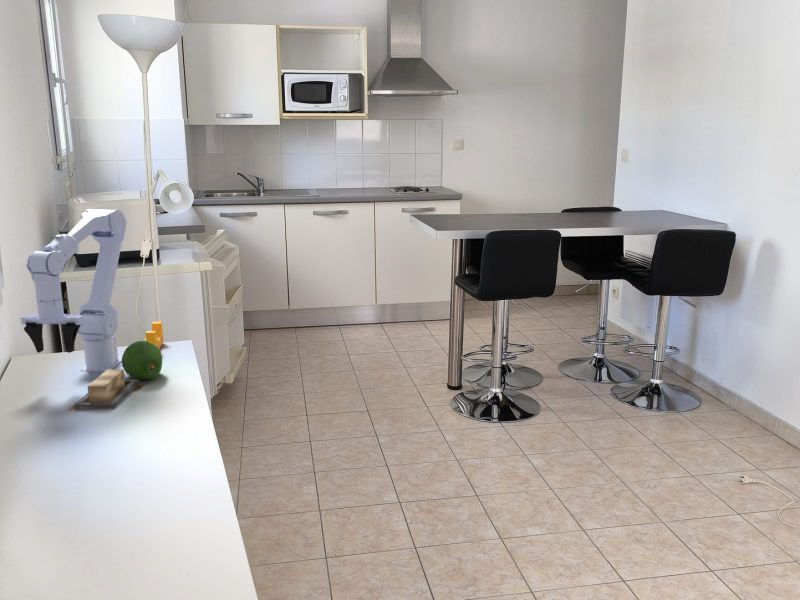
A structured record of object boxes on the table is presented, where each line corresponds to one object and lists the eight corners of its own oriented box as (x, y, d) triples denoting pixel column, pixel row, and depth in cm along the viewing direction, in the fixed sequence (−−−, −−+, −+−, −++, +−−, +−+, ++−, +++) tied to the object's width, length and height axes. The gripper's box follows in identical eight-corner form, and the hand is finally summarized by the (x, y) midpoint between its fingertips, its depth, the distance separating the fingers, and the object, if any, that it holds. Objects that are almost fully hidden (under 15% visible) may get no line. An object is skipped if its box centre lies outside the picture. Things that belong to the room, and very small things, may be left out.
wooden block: (109, 388, 181) (107, 369, 180) (125, 388, 181) (123, 369, 180) (89, 406, 169) (87, 386, 168) (106, 406, 169) (104, 386, 168)
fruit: (170, 385, 185) (167, 348, 183) (129, 391, 181) (126, 353, 178) (158, 367, 198) (155, 333, 196) (120, 373, 193) (117, 338, 191)
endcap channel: (98, 386, 184) (97, 378, 183) (145, 387, 184) (144, 378, 183) (67, 413, 167) (66, 405, 166) (119, 414, 167) (118, 405, 166)
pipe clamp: (148, 342, 222) (147, 322, 220) (163, 341, 223) (161, 321, 221) (140, 354, 210) (139, 333, 209) (156, 353, 211) (154, 332, 209)
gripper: (11, 303, 174) (18, 356, 178) (71, 303, 174) (77, 356, 178) (26, 296, 181) (32, 347, 184) (84, 296, 181) (89, 347, 185)
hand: (55, 351), depth 182 cm, fingers open, 7 cm apart
